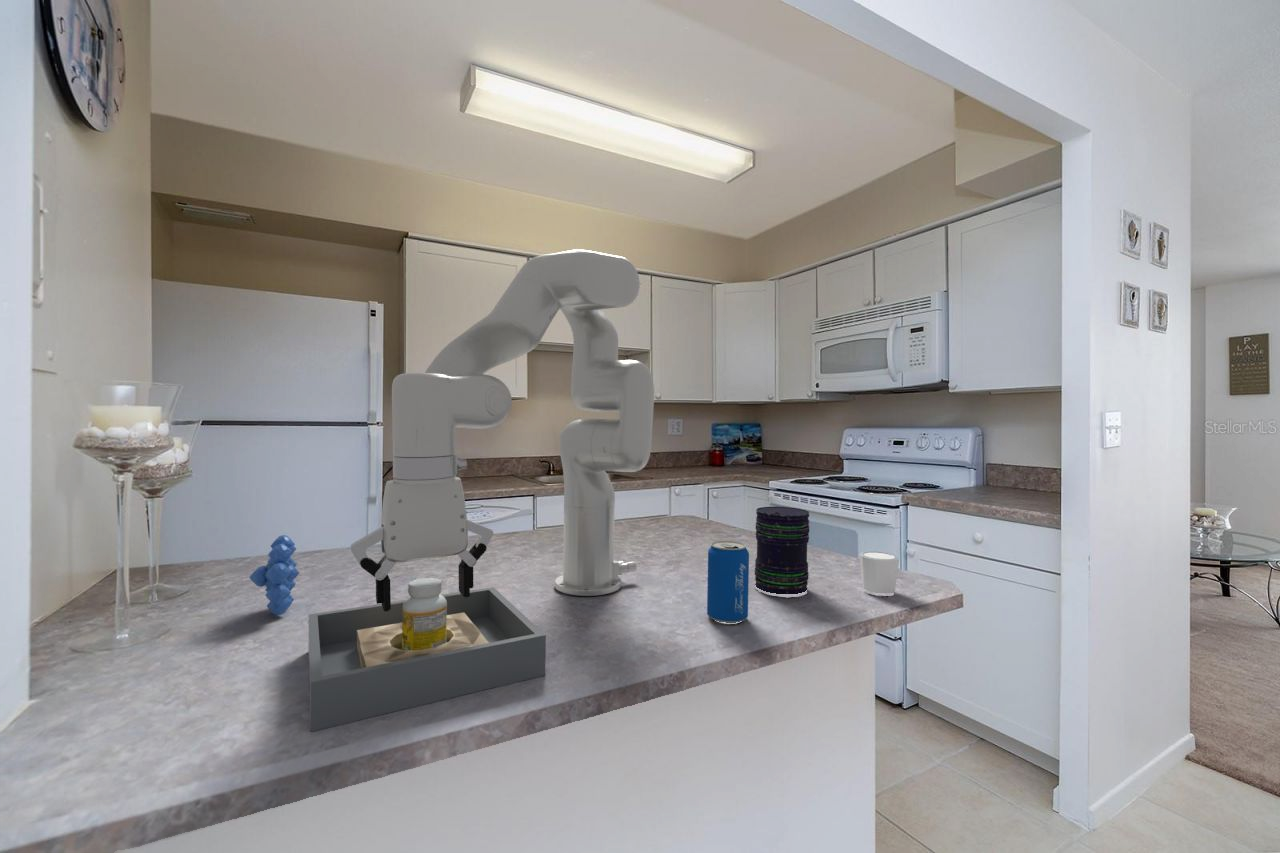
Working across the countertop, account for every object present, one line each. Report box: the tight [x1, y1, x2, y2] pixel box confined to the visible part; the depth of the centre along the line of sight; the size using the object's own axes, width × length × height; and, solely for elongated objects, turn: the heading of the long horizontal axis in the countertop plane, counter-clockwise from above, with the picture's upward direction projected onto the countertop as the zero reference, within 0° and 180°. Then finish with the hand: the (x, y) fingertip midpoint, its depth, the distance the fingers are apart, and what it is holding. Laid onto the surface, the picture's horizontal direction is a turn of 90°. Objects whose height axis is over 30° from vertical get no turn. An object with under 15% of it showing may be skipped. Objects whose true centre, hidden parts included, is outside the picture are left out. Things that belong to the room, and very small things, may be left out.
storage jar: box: [754, 506, 810, 594], centre depth 105 cm, size 10×10×15 cm
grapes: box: [249, 534, 300, 616], centre depth 89 cm, size 12×7×12 cm, turn 27°
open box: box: [307, 587, 547, 732], centre depth 72 cm, size 25×22×5 cm
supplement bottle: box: [402, 577, 447, 650], centre depth 72 cm, size 5×5×10 cm
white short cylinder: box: [859, 551, 900, 593], centre depth 104 cm, size 7×7×7 cm
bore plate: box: [357, 612, 489, 668], centre depth 72 cm, size 14×14×2 cm
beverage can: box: [706, 540, 750, 623], centre depth 89 cm, size 6×6×12 cm
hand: (426, 600), depth 72 cm, fingers open, 9 cm apart
